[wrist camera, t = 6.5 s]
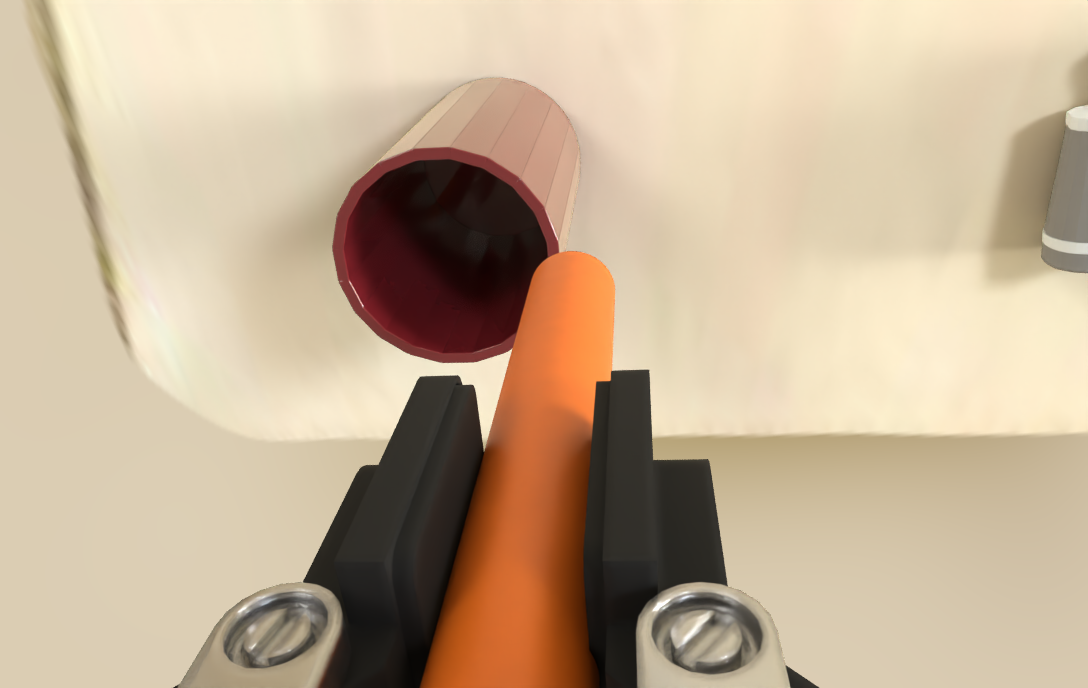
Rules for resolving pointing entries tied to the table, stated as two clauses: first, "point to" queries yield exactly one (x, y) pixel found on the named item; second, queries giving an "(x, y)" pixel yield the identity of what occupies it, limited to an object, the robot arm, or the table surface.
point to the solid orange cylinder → (532, 499)
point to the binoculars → (1069, 200)
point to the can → (460, 221)
